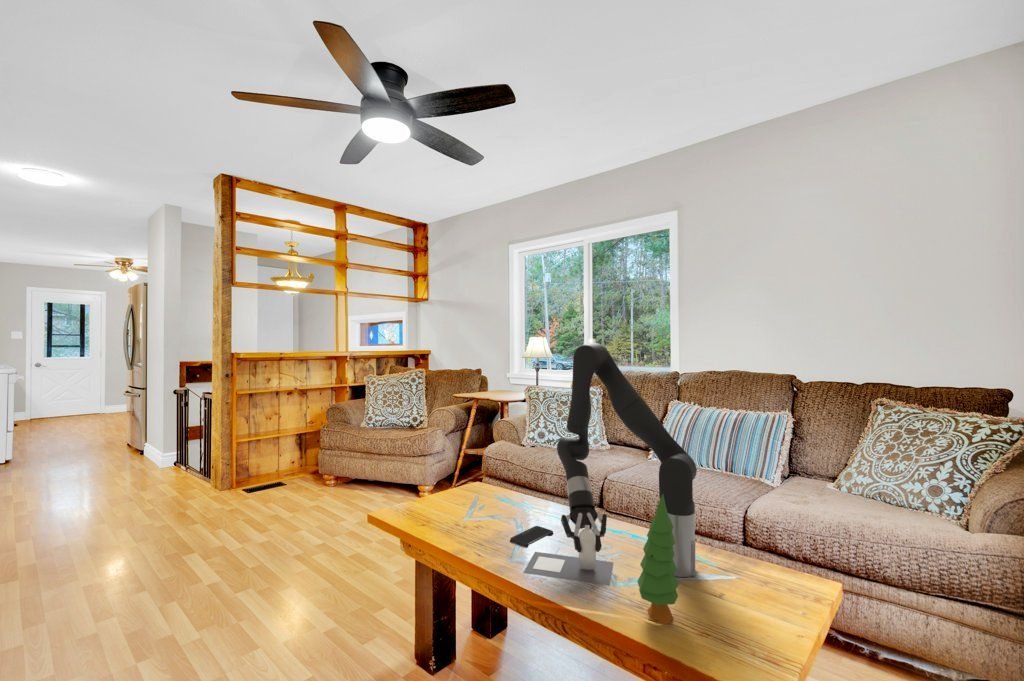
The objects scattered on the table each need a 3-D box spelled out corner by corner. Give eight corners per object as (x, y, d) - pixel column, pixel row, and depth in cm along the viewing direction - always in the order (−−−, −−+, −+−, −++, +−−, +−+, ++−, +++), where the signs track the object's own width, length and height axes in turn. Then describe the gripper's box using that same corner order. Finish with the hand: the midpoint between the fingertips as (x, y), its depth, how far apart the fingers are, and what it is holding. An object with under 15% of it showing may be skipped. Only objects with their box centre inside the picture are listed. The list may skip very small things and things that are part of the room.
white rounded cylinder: (596, 563, 137) (596, 523, 137) (594, 570, 132) (594, 529, 132) (580, 560, 138) (580, 521, 138) (577, 568, 134) (577, 527, 134)
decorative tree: (672, 632, 107) (672, 500, 107) (631, 620, 112) (631, 493, 112) (681, 612, 115) (681, 489, 115) (642, 600, 120) (643, 483, 120)
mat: (613, 564, 140) (613, 561, 140) (609, 587, 126) (609, 585, 126) (535, 553, 147) (535, 551, 147) (523, 574, 133) (523, 572, 133)
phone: (554, 531, 163) (527, 545, 151) (554, 534, 163) (527, 548, 151) (536, 525, 168) (508, 538, 156) (536, 528, 168) (508, 541, 156)
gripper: (558, 489, 142) (565, 546, 130) (605, 488, 143) (616, 545, 131) (555, 501, 148) (562, 557, 135) (601, 500, 148) (611, 555, 136)
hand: (588, 550), depth 133 cm, fingers closed on white rounded cylinder, 4 cm apart
